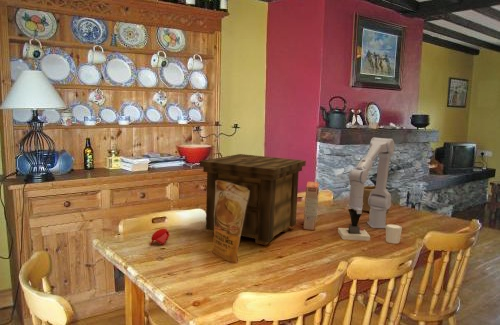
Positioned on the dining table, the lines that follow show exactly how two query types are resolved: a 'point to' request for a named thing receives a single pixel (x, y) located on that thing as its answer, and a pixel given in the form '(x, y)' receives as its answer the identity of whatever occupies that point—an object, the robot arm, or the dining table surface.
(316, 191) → the cracker box
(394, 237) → the shot glass
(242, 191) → the pancake mix bag
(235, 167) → the crate
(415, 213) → the dining table surface
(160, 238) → the cap
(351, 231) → the plug
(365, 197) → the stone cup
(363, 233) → the socket plate
